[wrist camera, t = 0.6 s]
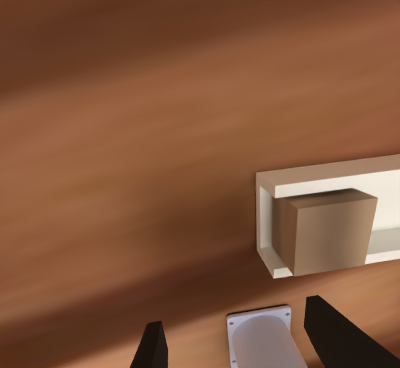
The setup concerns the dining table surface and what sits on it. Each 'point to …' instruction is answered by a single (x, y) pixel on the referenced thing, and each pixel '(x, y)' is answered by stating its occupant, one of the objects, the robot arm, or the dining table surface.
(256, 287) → the dining table surface
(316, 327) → the robot arm
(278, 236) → the walnut block
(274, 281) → the dining table surface
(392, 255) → the chute
